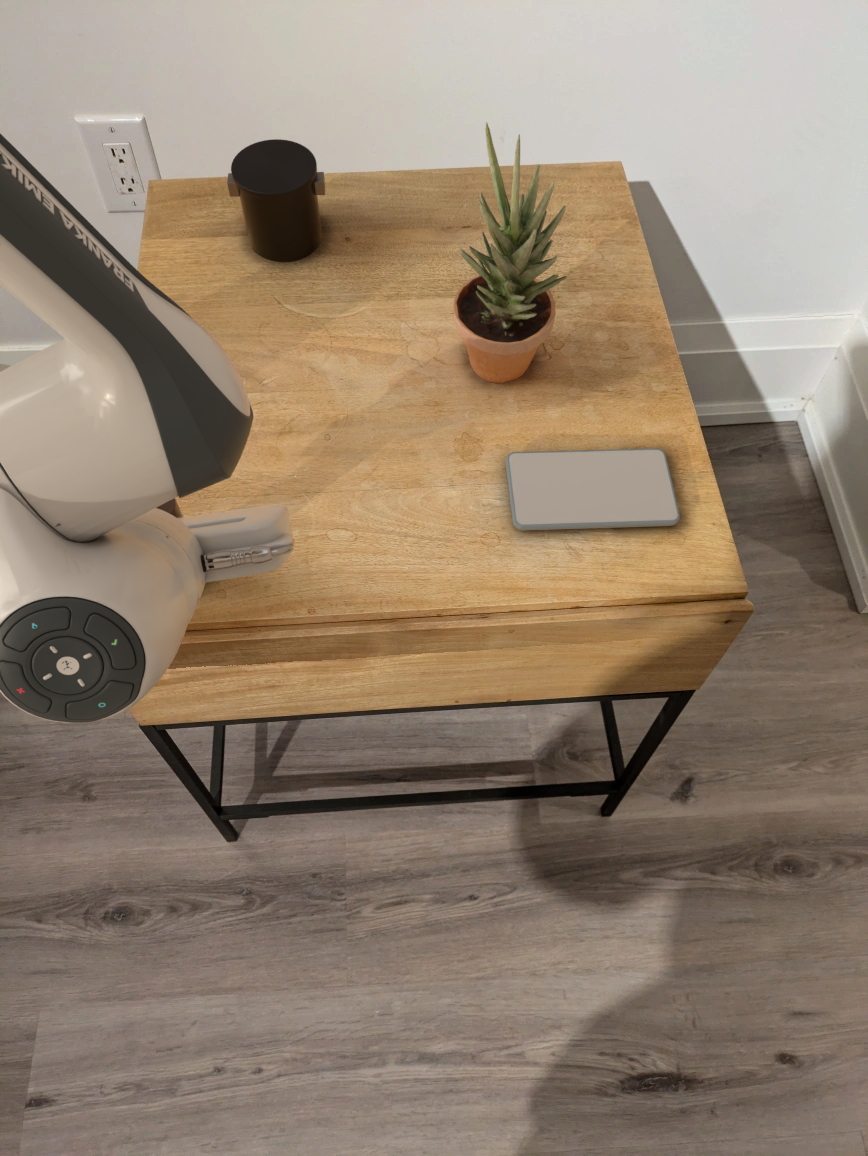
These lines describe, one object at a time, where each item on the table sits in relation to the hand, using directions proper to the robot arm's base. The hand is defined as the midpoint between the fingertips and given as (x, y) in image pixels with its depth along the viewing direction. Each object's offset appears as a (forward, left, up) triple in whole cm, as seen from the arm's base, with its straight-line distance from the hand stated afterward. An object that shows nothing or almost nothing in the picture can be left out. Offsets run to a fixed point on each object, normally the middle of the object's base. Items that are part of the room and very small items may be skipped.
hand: (168, 529), depth 68 cm
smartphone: (+36, +6, -5) cm, 37 cm away
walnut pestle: (0, -1, -5) cm, 5 cm away
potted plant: (+29, +22, -6) cm, 37 cm away
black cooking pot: (+7, +41, -5) cm, 42 cm away
